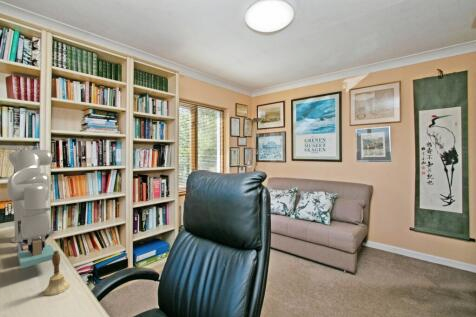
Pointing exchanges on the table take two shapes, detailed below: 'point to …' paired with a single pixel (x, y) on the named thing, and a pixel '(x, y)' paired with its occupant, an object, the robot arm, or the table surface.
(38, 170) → the robot arm
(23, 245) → the box
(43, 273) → the table surface
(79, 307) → the table surface
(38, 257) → the lid
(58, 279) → the hand bell
